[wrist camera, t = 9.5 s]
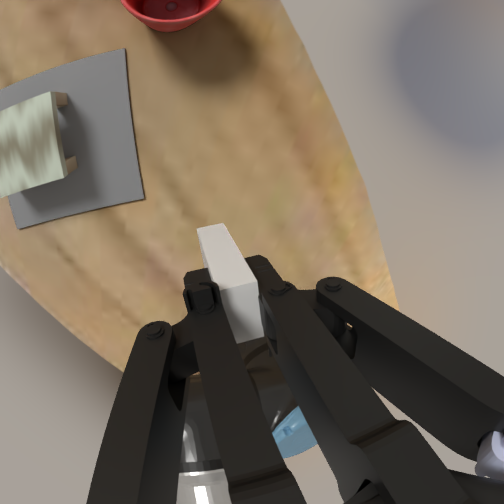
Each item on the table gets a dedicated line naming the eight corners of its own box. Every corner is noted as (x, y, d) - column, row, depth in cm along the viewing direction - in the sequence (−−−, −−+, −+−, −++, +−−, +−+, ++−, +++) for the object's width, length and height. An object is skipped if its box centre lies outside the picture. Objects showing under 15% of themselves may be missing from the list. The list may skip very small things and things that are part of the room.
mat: (144, 197, 38) (144, 198, 37) (18, 228, 34) (17, 229, 33) (125, 48, 28) (124, 48, 28) (-9, 94, 24) (-10, 94, 24)
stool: (63, 177, 28) (-3, 199, 26) (77, 167, 33) (16, 186, 31) (50, 91, 23) (-19, 120, 21) (66, 93, 28) (3, 116, 26)
